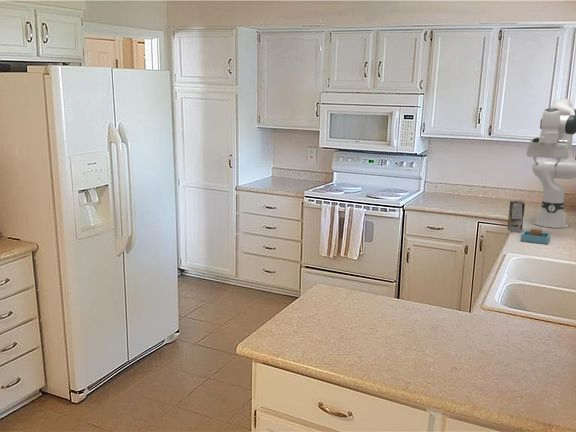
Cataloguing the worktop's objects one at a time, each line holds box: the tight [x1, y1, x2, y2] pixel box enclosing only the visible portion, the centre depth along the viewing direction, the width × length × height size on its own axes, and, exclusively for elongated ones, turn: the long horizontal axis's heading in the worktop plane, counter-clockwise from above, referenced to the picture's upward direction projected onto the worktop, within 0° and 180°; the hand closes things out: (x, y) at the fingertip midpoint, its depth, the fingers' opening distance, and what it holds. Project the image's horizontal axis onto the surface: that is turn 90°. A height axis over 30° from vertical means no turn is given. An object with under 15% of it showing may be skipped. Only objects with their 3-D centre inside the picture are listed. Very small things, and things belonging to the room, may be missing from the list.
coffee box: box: [507, 200, 526, 233], centre depth 315 cm, size 9×6×16 cm
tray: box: [520, 230, 551, 245], centre depth 291 cm, size 13×13×4 cm
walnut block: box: [530, 227, 543, 237], centre depth 291 cm, size 5×5×5 cm
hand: (546, 166), depth 300 cm, fingers open, 8 cm apart
